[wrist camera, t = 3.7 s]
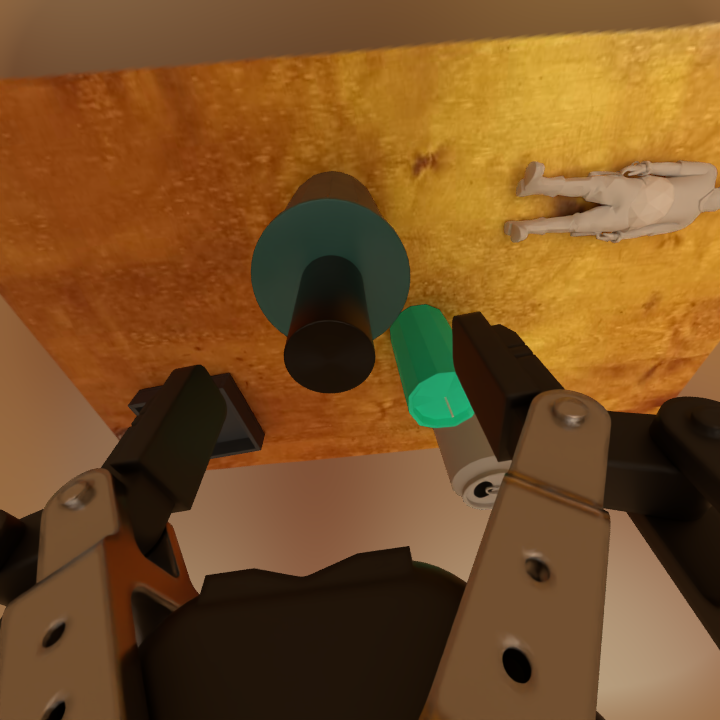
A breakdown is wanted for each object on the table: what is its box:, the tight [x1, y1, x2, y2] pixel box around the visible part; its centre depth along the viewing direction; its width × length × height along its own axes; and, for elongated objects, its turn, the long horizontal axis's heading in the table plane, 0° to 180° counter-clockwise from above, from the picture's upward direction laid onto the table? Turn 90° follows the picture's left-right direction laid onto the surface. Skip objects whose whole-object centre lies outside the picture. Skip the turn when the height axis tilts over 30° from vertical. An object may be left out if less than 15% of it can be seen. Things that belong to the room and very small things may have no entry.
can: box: [433, 413, 512, 510], centre depth 34 cm, size 8×8×12 cm
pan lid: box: [251, 197, 410, 393], centre depth 13 cm, size 8×8×7 cm
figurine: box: [504, 160, 720, 243], centre depth 24 cm, size 7×4×18 cm
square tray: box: [128, 373, 265, 459], centre depth 37 cm, size 10×10×2 cm
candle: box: [390, 304, 474, 428], centre depth 27 cm, size 6×6×12 cm
